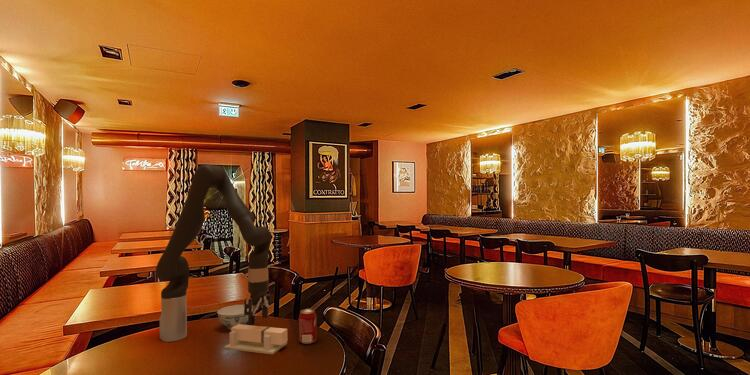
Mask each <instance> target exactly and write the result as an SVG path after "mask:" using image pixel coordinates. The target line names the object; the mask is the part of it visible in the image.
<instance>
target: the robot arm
mask: <svg viewBox="0 0 750 375" xmlns="http://www.w3.org/2000/svg"><path fill="white" fill-rule="evenodd" d="M210 189H215V190H216V191H218V192H219V193H220V194H221V197H223V200H224V203H225V207H226V211H227V213H228V215H229V216H230V218H231V219H232V220H233V222H234V223H235V224H236V225H237V227H238V229H239V232H240V233H241V234H240V235H241V236H242V238H243V241H244V243H246V244H247V245H249V247H253V250H252V251H251V252H250V253H249V255H248V271H247V291H248V293H249V294H250V296H249V297H248V298H245V299H244V304H243V305H244V315H248V322H247V323H248V325H251V326H256V325H255V324H256V319H255V317H256V315H255V314H256V313H257V312H256V311H257V310H258V309H259V307H260V306H261V317H262V319H267V318H269V308H270V306H271V305H272V304H273V303H272V302H273V301H272V290H271V289H269V267H268V265H269V264H268V262H269V261H268V258H269V257H268V255H269V251H270V248H271V247H270V246H271V243H272V234H271V231H270V229H269V228H268V227H266V226H256V225H255V224H254V223H255V220H256V217H255V215H254V214H253V213H252V211H251V209H249V207H248V206H247V205H246V204H245V203H244V201H243V199H242V198H241V197H240V195H239V193H238V191H237V190H236V189H235V186H234V185H233V183H232V180H231V179H230V177H229V176H228V174H227V172H226V171H225V169H224V168H223V167H222V166H220V165H214V164H201V165H199V166H198V167H197V168H196V170H195V172H194V174H193V177H192V180H191V184H190V187H189V191H188V194H187V197H186V200H185V202H184V204H183V207H182V210H181V212H180V214H179V217H178V219H177V221H176V224H175V227H174V229H173V232H172V234H171V236H170V238H169V241H168V243H167V245H166V247H165V248H164V251H163V252H162V253H161V256H160V258H159V260H158V261H157V264H156V266H155V275H156V277H157V279H158V281H161V282H169V283H168V284H167V285H166V286H165V287H164V288H163V289H162V290H161V292H160V305H161V307H160V308H161V314H160V315H159V340H161V341H162V342H165V343H169V342H177V341H180V340H184V339H185V338H186V337H188V324H187V323H188V319H187V318H188V315H187V307H188V306H187V302H188V301H187V290H188V288H189V278H190V276H189V275H190V274H189V273H190V268H189V267H190V265H189V262H188V260H187V258H186V257H184V256H182V254H183V253H184V252H185V250H186V249H187V247H189V246H190V245H191V244H192V243H193V242H194V241H195V239H196V238H197V237H198V236H199V234H200V232H201V230H202V228H203V225H204V223H205V220H206V219H205V218H206V216H205V214H206V213H205V205H204V204H205V199H206V196H207V194H208V193H209V190H210ZM247 309H249V310H248V312H247ZM252 309H253V311H252Z"/></svg>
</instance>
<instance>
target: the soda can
mask: <svg viewBox="0 0 750 375" xmlns="http://www.w3.org/2000/svg"><path fill="white" fill-rule="evenodd" d="M317 331H318V330H317V314H316V312H315V309H313V308H305V309H301V310H300V313H299V315H298V340H299V342H300V343H301V344H303V345H311V344H313V343H315V342H316V341H317V337H318V335H317Z"/></svg>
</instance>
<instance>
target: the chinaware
mask: <svg viewBox="0 0 750 375" xmlns="http://www.w3.org/2000/svg"><path fill="white" fill-rule="evenodd" d="M248 310H249V309H247V312H248ZM252 311H253V309H252ZM216 314H217V316H218V319H219V321H220V322H221V323H222V325H223V326H225V327H227V329H228V330H230V331H231V328H232V327H234V326H236V325H238V324H242V325H247V323H248V322H249V321H248V315H244V304H234V305H228V306H224V307H221V308H219V309H218V310H217V313H216Z"/></svg>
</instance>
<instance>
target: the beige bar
mask: <svg viewBox="0 0 750 375" xmlns="http://www.w3.org/2000/svg"><path fill="white" fill-rule="evenodd" d="M232 331H234V332H237V340H241V341H250V342H259V343H264V336H265V335H271V344H277V345H282V344H284V343H285V342H288V341H289V340H288V337H289V336H288V332H289V331H288V328H282V327H271V326H262V325H261V326H260V325H253V326H251V325H249V324H244V325H242V324H238V325H236V326H234V327H232V328H231V330H230V332H232Z"/></svg>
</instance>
